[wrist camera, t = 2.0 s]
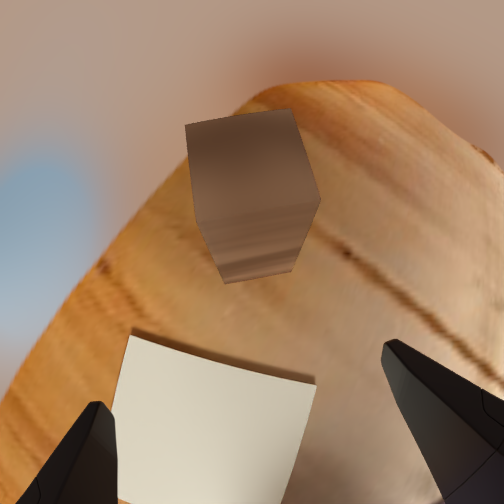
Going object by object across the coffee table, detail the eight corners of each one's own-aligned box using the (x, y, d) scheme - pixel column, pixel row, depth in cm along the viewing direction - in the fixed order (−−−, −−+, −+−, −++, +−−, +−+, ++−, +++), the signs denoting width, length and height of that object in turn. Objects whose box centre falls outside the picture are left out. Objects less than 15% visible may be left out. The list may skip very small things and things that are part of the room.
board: (315, 384, 22) (316, 385, 21) (266, 537, 18) (266, 540, 17) (132, 335, 23) (129, 334, 22) (100, 486, 19) (97, 488, 18)
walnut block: (290, 271, 24) (320, 200, 13) (224, 284, 24) (196, 222, 12) (276, 211, 26) (290, 108, 14) (214, 222, 25) (184, 124, 14)
